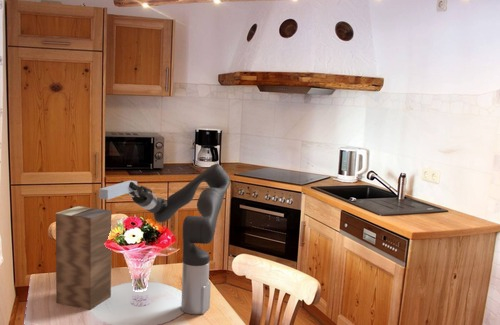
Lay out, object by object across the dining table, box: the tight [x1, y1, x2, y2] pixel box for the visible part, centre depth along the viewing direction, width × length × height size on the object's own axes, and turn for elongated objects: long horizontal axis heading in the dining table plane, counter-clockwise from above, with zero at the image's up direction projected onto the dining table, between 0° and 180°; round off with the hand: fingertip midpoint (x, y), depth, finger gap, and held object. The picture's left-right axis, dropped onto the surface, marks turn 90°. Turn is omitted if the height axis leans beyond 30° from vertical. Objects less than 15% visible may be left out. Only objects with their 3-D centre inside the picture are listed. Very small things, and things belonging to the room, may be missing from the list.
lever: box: [98, 180, 138, 201], centre depth 181 cm, size 4×20×4 cm, turn 163°
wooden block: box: [55, 205, 112, 310], centre depth 170 cm, size 14×12×32 cm
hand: (125, 183), depth 185 cm, fingers closed on lever, 3 cm apart
